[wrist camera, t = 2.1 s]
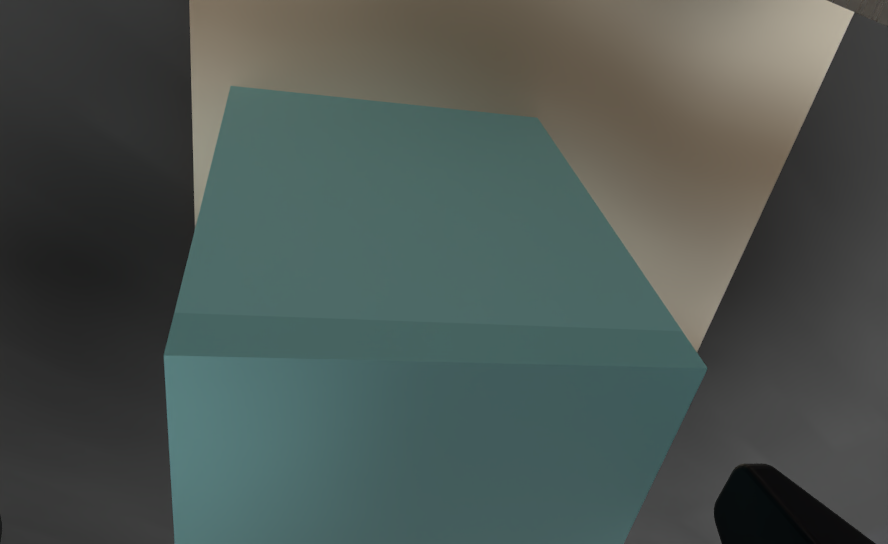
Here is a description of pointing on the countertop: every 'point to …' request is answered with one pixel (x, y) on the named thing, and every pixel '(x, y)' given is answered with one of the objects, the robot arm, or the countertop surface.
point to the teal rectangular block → (411, 337)
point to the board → (566, 99)
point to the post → (867, 8)
